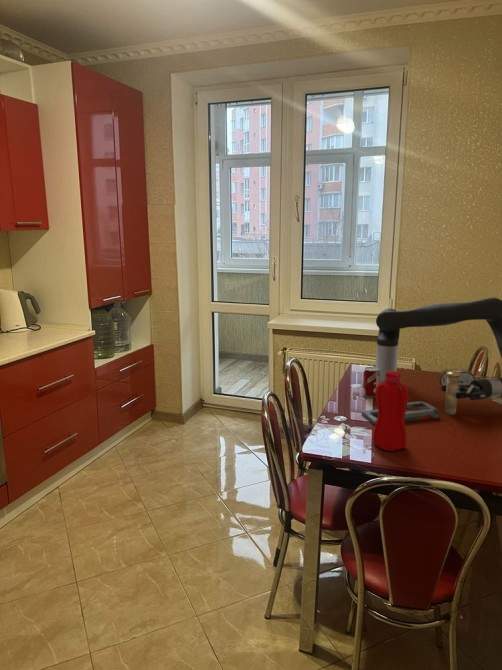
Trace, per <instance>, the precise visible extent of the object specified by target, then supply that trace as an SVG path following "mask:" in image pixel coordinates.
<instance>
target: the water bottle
mask: <svg viewBox="0 0 502 670" xmlns="http://www.w3.org/2000/svg"><path fill="white" fill-rule="evenodd" d="M375 396H376V398H375V402H376V407H377V409H378V415H377V417H376V418H377V421H376V425H374V428H373V432H372V433H373V434H372V435H373V436H372V441H373V442H372V443H374V444H375V446H377V447H379V448H380V449H382V450H383V449H384V451H385V450H387V451H386V452H394V451H398V450H401V449H402V450H403V449H404V448H405V447H406V445H407V430H406V425H405V424H406V423H405V422H404V417H405V413H406V406H407V403H409V399H410V395H409V389H408V387H407V385H406V384H404V383H403V382H402V381H401V373H400V371H387V372H386V380H385V381H383V382H381V383H379V384H378V386H377V388H376V392H375ZM397 449H398V450H397Z"/></svg>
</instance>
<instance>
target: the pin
mask: <svg viewBox="0 0 502 670" xmlns="http://www.w3.org/2000/svg"><path fill="white" fill-rule="evenodd" d="M446 375H447V386H446V391H445V403H444V413H445V415H449V416H454V415H456V414H457V404H458V399H457V398H456V393H458V390H459V389H458V382H459V377H460V372H457V371H447V372H446Z"/></svg>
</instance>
